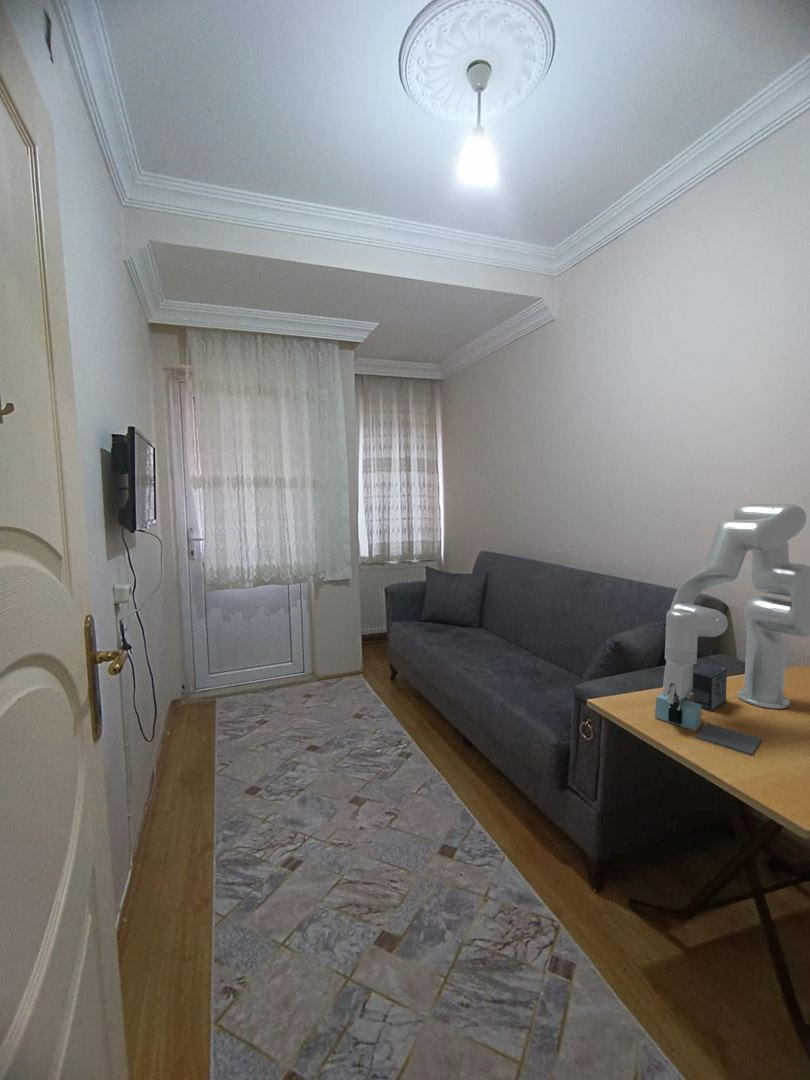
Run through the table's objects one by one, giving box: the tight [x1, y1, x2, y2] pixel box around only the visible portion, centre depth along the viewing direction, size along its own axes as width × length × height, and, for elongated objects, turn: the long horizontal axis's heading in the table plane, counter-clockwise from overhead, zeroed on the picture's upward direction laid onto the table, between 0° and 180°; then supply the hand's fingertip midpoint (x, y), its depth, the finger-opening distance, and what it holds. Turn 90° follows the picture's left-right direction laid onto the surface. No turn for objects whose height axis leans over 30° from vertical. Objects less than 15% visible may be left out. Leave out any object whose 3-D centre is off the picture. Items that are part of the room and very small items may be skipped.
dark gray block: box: [695, 722, 762, 756], centre depth 122 cm, size 10×12×1 cm
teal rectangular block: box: [654, 692, 702, 731], centre depth 132 cm, size 4×10×6 cm, turn 43°
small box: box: [691, 663, 728, 712], centre depth 143 cm, size 11×6×10 cm, turn 126°
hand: (677, 719), depth 132 cm, fingers closed on teal rectangular block, 4 cm apart
